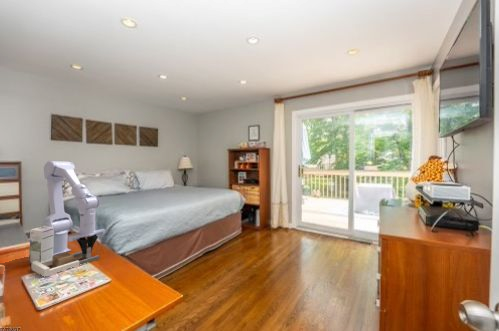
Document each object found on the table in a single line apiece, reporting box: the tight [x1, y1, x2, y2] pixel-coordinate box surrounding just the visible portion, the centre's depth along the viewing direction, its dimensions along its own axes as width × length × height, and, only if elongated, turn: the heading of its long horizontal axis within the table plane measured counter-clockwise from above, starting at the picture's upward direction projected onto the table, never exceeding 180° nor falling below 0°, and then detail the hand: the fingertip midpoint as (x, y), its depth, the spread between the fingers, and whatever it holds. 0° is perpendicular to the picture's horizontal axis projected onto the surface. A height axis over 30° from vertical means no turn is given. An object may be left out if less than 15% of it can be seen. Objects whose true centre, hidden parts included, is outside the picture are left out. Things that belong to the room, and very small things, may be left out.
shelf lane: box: [30, 259, 80, 278], centre depth 92 cm, size 12×12×3 cm
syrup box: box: [29, 225, 54, 264], centre depth 98 cm, size 6×6×14 cm
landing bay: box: [70, 251, 100, 266], centre depth 101 cm, size 12×8×2 cm, turn 62°
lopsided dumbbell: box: [51, 245, 92, 268], centre depth 97 cm, size 6×12×5 cm, turn 151°
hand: (86, 252), depth 102 cm, fingers closed on lopsided dumbbell
